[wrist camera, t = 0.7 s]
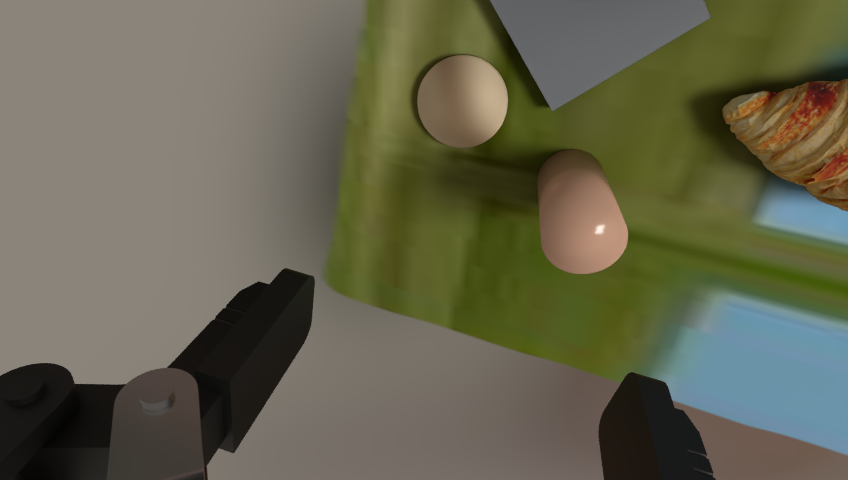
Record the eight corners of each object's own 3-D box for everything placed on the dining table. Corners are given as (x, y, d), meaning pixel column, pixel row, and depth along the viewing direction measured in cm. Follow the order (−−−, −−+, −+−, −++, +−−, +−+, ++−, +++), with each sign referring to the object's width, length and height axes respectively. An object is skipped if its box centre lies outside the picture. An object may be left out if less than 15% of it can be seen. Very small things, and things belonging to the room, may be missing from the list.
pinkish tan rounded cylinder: (585, 136, 35) (605, 186, 27) (614, 190, 37) (642, 253, 28) (525, 169, 38) (525, 225, 29) (555, 219, 39) (564, 285, 31)
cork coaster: (476, 34, 33) (476, 35, 33) (524, 115, 35) (524, 117, 35) (401, 88, 36) (399, 90, 36) (450, 161, 38) (449, 163, 38)
